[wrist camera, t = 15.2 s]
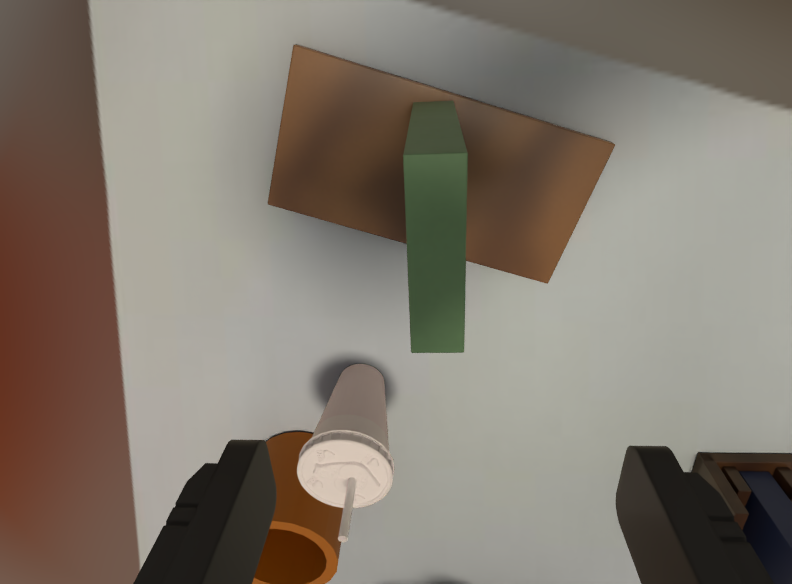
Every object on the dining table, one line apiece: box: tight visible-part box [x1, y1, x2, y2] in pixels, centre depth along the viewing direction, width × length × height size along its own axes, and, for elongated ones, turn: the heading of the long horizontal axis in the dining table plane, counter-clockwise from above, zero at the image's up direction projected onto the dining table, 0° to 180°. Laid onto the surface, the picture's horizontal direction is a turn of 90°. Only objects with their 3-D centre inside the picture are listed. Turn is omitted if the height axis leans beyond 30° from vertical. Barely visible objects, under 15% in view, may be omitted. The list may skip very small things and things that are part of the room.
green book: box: [403, 101, 468, 353], centre depth 27 cm, size 2×9×13 cm, turn 3°
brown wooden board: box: [268, 44, 615, 283], centre depth 33 cm, size 20×10×1 cm, turn 74°
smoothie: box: [297, 364, 395, 542], centre depth 35 cm, size 6×6×14 cm
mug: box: [252, 432, 343, 584], centre depth 43 cm, size 9×12×9 cm
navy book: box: [739, 471, 792, 584], centre depth 39 cm, size 2×9×13 cm, turn 3°
